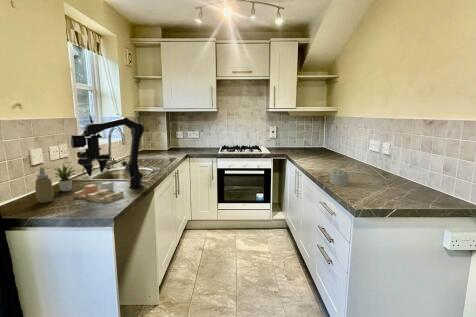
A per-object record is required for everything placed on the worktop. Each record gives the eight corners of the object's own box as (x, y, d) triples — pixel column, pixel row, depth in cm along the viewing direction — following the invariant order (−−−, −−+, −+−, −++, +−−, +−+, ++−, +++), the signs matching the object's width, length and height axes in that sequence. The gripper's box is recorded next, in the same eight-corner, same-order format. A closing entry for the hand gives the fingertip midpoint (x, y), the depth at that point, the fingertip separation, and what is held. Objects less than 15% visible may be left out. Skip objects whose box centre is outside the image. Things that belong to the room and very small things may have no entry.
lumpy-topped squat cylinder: (344, 181, 186) (344, 168, 185) (350, 186, 174) (351, 173, 172) (328, 181, 187) (329, 168, 186) (334, 186, 174) (334, 172, 173)
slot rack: (93, 192, 162) (93, 187, 161) (123, 196, 153) (123, 191, 152) (74, 197, 151) (74, 192, 150) (105, 203, 142) (105, 197, 141)
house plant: (65, 194, 157) (62, 166, 154) (45, 193, 160) (42, 165, 157) (84, 188, 171) (81, 162, 168) (65, 186, 173) (62, 161, 171)
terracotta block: (97, 193, 155) (97, 185, 154) (90, 195, 151) (89, 187, 150) (92, 192, 157) (91, 184, 156) (84, 194, 153) (84, 186, 152)
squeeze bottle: (39, 200, 147) (34, 166, 144) (56, 198, 150) (53, 165, 147) (34, 204, 140) (29, 169, 137) (52, 202, 143) (48, 168, 140)
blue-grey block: (107, 189, 167) (107, 181, 166) (113, 190, 165) (112, 182, 164) (101, 191, 163) (100, 183, 162) (107, 192, 161) (106, 184, 160)
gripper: (92, 144, 164) (95, 170, 167) (67, 148, 146) (70, 177, 149) (109, 144, 162) (111, 170, 164) (85, 148, 144) (88, 178, 146)
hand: (95, 174), depth 156 cm, fingers open, 9 cm apart
